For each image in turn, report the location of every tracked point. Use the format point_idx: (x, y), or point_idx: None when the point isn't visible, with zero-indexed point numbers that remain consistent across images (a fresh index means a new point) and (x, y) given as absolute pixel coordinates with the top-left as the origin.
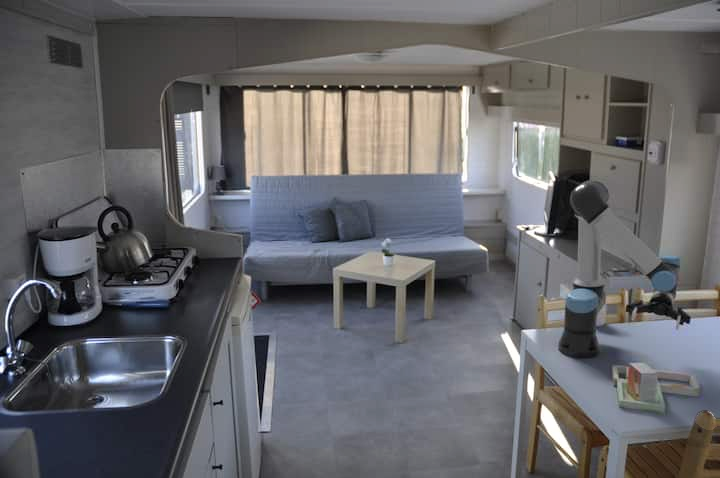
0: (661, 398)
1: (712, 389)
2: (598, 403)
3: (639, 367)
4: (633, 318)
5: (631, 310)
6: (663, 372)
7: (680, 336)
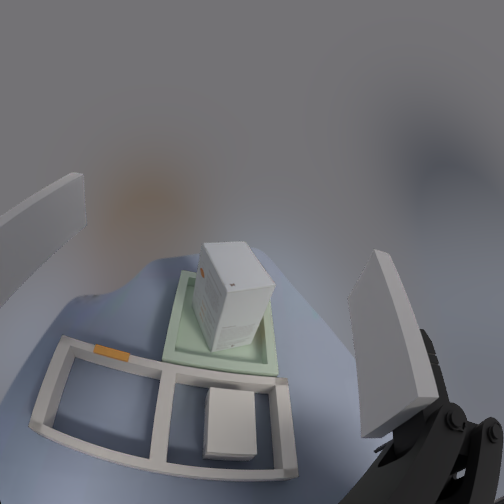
0: (179, 296)
1: (16, 380)
2: (300, 307)
3: (248, 262)
4: (357, 286)
5: (426, 349)
6: (120, 452)
7: None
